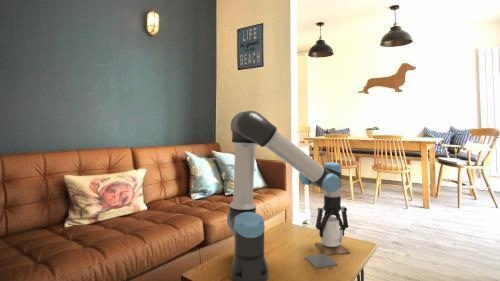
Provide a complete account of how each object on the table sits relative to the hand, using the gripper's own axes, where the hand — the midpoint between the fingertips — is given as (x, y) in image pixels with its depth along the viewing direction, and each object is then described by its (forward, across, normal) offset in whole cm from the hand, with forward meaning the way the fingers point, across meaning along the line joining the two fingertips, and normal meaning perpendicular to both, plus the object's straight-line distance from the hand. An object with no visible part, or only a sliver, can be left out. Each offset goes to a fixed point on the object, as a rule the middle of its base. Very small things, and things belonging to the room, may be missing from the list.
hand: (331, 242), depth 135 cm
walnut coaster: (+3, 0, 0) cm, 3 cm away
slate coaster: (+3, -10, -11) cm, 15 cm away
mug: (+1, 0, 0) cm, 1 cm away
